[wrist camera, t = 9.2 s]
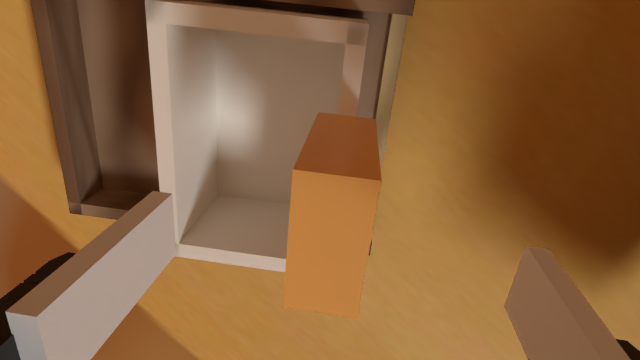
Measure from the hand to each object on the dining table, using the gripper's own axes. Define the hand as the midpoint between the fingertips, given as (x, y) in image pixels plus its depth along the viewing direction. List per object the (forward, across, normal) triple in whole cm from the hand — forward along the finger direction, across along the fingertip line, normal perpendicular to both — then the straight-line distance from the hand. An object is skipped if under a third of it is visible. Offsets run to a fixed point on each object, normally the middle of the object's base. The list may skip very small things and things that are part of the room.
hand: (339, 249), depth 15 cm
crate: (+16, +5, 0) cm, 16 cm away
